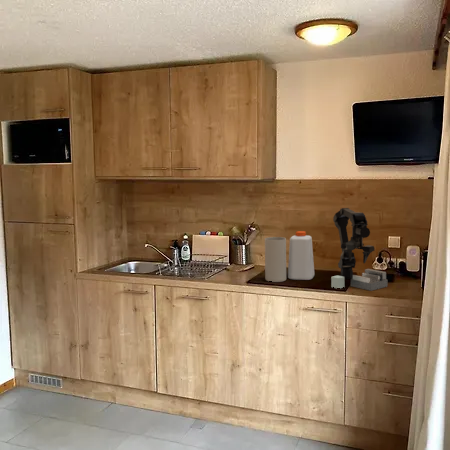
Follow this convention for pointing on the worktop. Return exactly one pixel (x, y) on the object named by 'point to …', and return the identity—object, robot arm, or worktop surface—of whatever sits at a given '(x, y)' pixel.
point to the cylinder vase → (275, 259)
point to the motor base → (370, 280)
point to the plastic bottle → (301, 257)
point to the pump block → (337, 281)
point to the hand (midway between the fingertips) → (357, 262)
